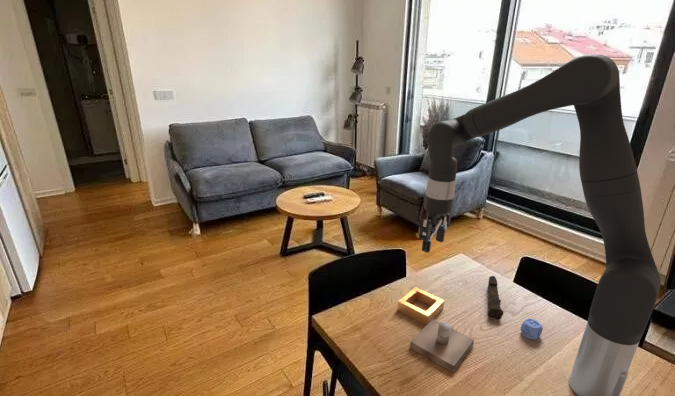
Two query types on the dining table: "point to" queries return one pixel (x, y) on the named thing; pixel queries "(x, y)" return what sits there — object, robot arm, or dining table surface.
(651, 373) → the dining table surface
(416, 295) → the link
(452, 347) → the keeper
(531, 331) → the decorative dice
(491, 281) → the hand tool
